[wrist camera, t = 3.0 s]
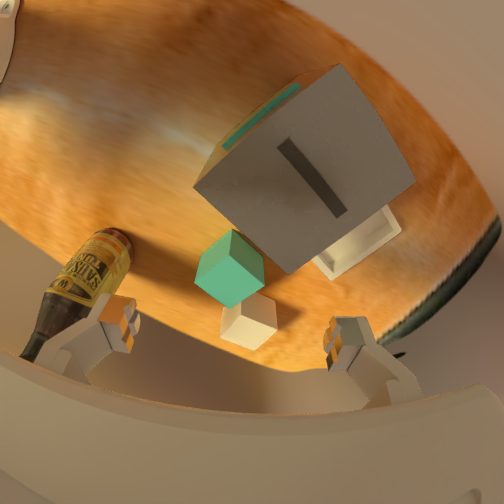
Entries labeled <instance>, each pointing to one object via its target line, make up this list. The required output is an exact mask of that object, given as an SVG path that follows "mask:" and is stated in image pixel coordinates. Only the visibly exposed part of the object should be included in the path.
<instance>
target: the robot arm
mask: <svg viewBox="0 0 504 504" xmlns="http://www.w3.org/2000/svg"><path fill="white" fill-rule="evenodd" d="M19 4H20V0H0V83H1V81H2V79H3V77H4V74H5V72H6V69H7V66H8V63H9V60H10V56H11V53H12V48H13V42H14V34H15V17H16V14H17V11H18V8H19ZM136 306H137V303H136V300H135V299H134V298H130V297H125V296H119V295H114V294H108V293H102V294H101V295H100V296H99V298H98V300H97V301H96V303H95V305H94V306H93V308H92V310H91V311H90V313H89V315H88V317H87V318H83V319H81V320H80V321H78V322H76V323H75V324H73V325H71V326H70V327H68V328H67V329H65V330H63V331H62V332H60V333H59V334H57V335H55V336H54V337H52V338H51V339H49V340H47V341H46V342H45V343H44V345H43V346H42V348H41V350H40V352H39V354H38V355H37V357H36V359H35V361H34V363H31V362H29V361H27V360H25V359H23V358H20V357H18V356H16V355H14V354H12V353H10V352H8V351H6V350H4V349H3V348H1V347H0V504H504V408H503V405H502V403H501V401H500V400H499V398H498V397H497V396H496V395H495V394H493V393H492V392H491V391H490V390H489V389H488V388H487V387H485V386H484V385H482V384H480V383H479V384H478V383H477V384H473V385H470V386H467V387H464V388H461V389H457V390H454V391H451V392H447V393H444V394H440V395H437V396H432V397H428V398H423V396H422V393H421V390H420V387H419V384H418V382H417V379H416V376H415V375H414V374H413V373H412V372H410V371H409V370H408V369H407V368H405V366H404V365H402V364H401V363H400V362H399V361H398V360H397V359H396V358H394V357H393V356H392V355H391V354H390V353H389V352H388V351H386V350H385V349H384V348H383V347H382V346H381V345H377V343H376V341H375V338H374V335H373V333H372V330H371V327H370V325H369V322H368V320H367V318H366V317H351V316H333V317H332V318H331V319H330V322H329V324H330V327H329V328H328V329H326V331H325V334H324V339H323V346H324V351H325V352H326V353H327V354H328V356H327V358H326V362H327V367H328V371H347V373H348V375H349V376H350V377H351V378H352V379H353V381H354V382H355V383H356V384H357V385H358V387H359V388H360V389H361V390H362V392H363V393H364V394H365V395H366V397H367V398H368V399H369V400H370V401H369V402H368V403H367V404H366V405H365V406H364V407H363V408H362V410H355V411H345V412H332V413H316V414H252V413H236V412H235V413H234V412H223V411H213V410H204V409H197V408H189V407H183V406H176V405H170V404H165V403H159V402H155V401H150V400H145V399H140V398H136V397H132V396H127V395H123V394H120V393H116V392H112V391H109V390H105V389H101V388H98V387H95V386H92V385H91V383H90V382H89V380H88V379H87V377H86V376H85V374H87V373H88V372H89V371H90V370H91V369H92V368H93V367H94V366H96V365H97V364H98V363H99V362H100V361H101V360H102V359H104V358H105V357H106V356H107V355H108V354H109V353H110V352H112V350H114V351H120V352H125V353H130V351H131V348H132V345H133V343H134V340H133V336H134V335H136V334H137V332H138V330H139V324H140V316H139V312H138V311H137V310H136V309H135V308H136Z"/></svg>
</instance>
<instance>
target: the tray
mask: <svg viewBox="0 0 504 504" xmlns="http://www.w3.org/2000/svg"><path fill="white" fill-rule="evenodd" d="M401 231H402V230H401V228H400V226H399V224H398V222H397V221H396V219H395V217H394V215H393V213H392V212H391V210H390V208H389V207H388V205H385V206H384V207H383V208H381V209H380V210H379V211H377V212H376V213H375V214H373V215H372V216H371V217H369V218H368V219H367V220H365V221H364V222H363V223H361V224H360V225H358V226H357V227H356V228H354V229H353V230H352V231H350V232H349V233H348V234H346V235H345V236H343V237H342V238H341V239H339V240H338V241H336V242H335V243H334V244H332V245H331V246H330V247H328V248H327V249H325V250H324V251H322V252H321V253H320V254H318V255H317V256H315V257H314V258H313V259H311V260H312V261H313V262H314V264H315V265H316V266H317V267H318V268H319V269H320V270H321V271H322V272H323V273H324V274H325V275H326V276H327V277H328V278H329V280H330V281H332V280H333V279H335V278H336V277H338V276H339V275H341V274H342V273H344V272H345V271H347V270H348V269H350V268H351V267H353V266H354V265H355V264H357V263H358V262H360V261H361V260H363V259H364V258H366V257H367V256H368V255H370V254H371V253H373V252H374V251H375V250H377V249H378V248H380V247H381V246H382V245H384V244H385V243H386V242H388V241H389V240H390V239H392V238H393V237H394V236H396V235H397V234H398V233H400V232H401Z"/></svg>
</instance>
